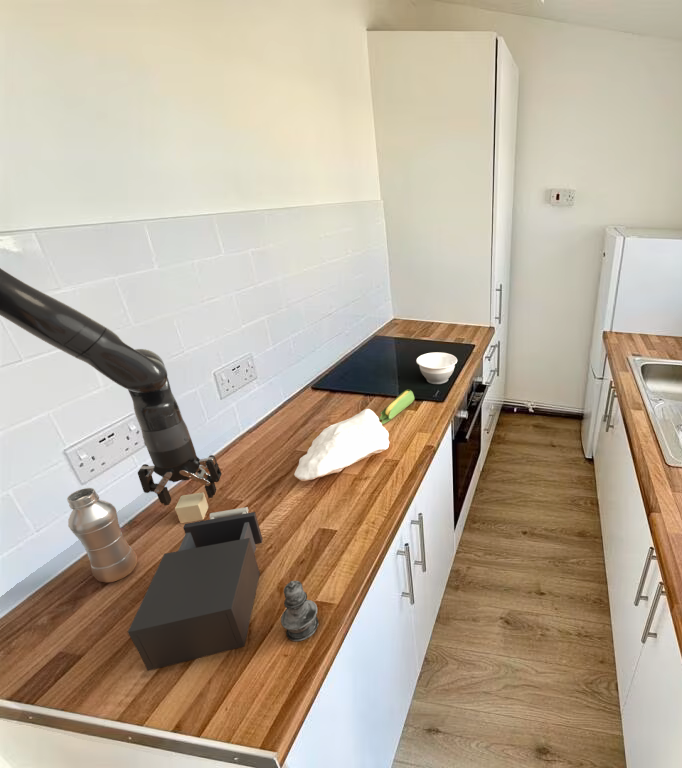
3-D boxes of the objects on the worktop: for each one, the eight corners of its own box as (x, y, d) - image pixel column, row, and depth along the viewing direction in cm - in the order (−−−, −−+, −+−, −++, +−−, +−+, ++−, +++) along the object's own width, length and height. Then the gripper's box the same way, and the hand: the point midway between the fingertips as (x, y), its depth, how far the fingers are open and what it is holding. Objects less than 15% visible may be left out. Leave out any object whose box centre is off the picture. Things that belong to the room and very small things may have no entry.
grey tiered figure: (283, 620, 79) (271, 573, 74) (318, 607, 81) (308, 562, 76) (285, 648, 74) (271, 601, 69) (321, 634, 77) (311, 588, 72)
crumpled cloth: (411, 427, 137) (405, 401, 134) (357, 498, 106) (347, 467, 103) (345, 427, 142) (338, 402, 139) (274, 495, 111) (262, 465, 107)
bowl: (449, 390, 165) (448, 370, 161) (410, 384, 168) (409, 364, 164) (462, 374, 179) (462, 355, 175) (427, 368, 182) (426, 350, 178)
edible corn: (418, 400, 157) (417, 389, 155) (388, 427, 139) (387, 415, 137) (405, 397, 158) (404, 386, 156) (374, 424, 141) (373, 412, 139)
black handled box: (179, 590, 83) (164, 553, 79) (260, 573, 88) (249, 537, 83) (148, 671, 70) (127, 632, 66) (244, 646, 74) (231, 608, 70)
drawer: (202, 533, 95) (192, 506, 91) (266, 522, 99) (259, 495, 95) (171, 612, 78) (158, 582, 75) (250, 595, 82) (240, 565, 79)
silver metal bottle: (89, 581, 84) (45, 501, 75) (126, 555, 90) (90, 479, 81) (111, 591, 82) (70, 511, 73) (148, 564, 88) (114, 487, 79)
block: (180, 523, 98) (174, 508, 96) (186, 510, 102) (181, 495, 100) (203, 519, 100) (198, 504, 98) (208, 506, 104) (203, 492, 102)
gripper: (211, 427, 97) (229, 483, 105) (135, 436, 93) (159, 494, 100) (202, 445, 91) (221, 504, 98) (120, 456, 87) (146, 516, 94)
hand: (190, 499), depth 99 cm, fingers open, 8 cm apart
